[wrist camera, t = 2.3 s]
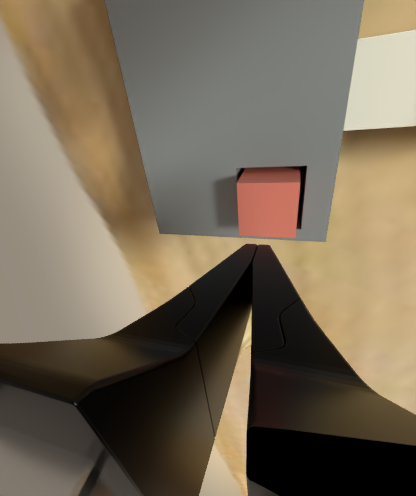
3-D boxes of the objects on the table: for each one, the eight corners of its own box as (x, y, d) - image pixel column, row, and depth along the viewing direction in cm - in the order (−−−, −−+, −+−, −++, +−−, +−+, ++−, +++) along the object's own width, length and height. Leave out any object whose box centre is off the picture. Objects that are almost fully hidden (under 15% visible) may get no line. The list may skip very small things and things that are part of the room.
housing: (363, -121, 10) (401, -237, 6) (319, 207, 17) (325, 241, 14) (142, -49, 13) (81, -100, 9) (184, 205, 20) (159, 233, 17)
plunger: (299, 156, 15) (300, 182, 11) (296, 202, 16) (295, 238, 12) (251, 158, 15) (236, 183, 12) (251, 201, 17) (239, 235, 13)
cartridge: (627, -13, 10) (952, -103, 5) (556, 116, 12) (729, 141, 7) (182, 61, 15) (128, 53, 10) (192, 140, 17) (152, 164, 13)
